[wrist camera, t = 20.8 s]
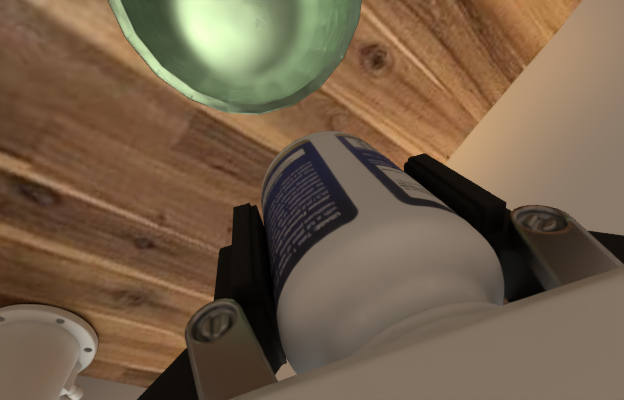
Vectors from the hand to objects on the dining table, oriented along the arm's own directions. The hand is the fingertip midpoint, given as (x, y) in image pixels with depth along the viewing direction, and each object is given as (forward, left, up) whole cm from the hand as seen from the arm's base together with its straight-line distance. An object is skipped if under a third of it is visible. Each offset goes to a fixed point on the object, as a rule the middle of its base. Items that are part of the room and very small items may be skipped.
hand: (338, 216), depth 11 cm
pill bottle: (0, 0, -2) cm, 2 cm away
